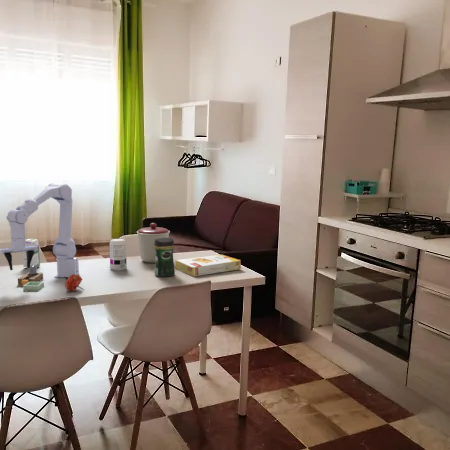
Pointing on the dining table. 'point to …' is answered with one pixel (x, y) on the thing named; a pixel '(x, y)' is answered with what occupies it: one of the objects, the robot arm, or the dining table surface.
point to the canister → (150, 241)
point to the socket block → (30, 278)
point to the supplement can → (118, 254)
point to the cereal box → (207, 265)
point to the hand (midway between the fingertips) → (19, 268)
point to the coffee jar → (164, 257)
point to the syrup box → (35, 257)
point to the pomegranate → (72, 282)
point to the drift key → (24, 282)
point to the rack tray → (33, 286)
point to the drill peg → (32, 270)
